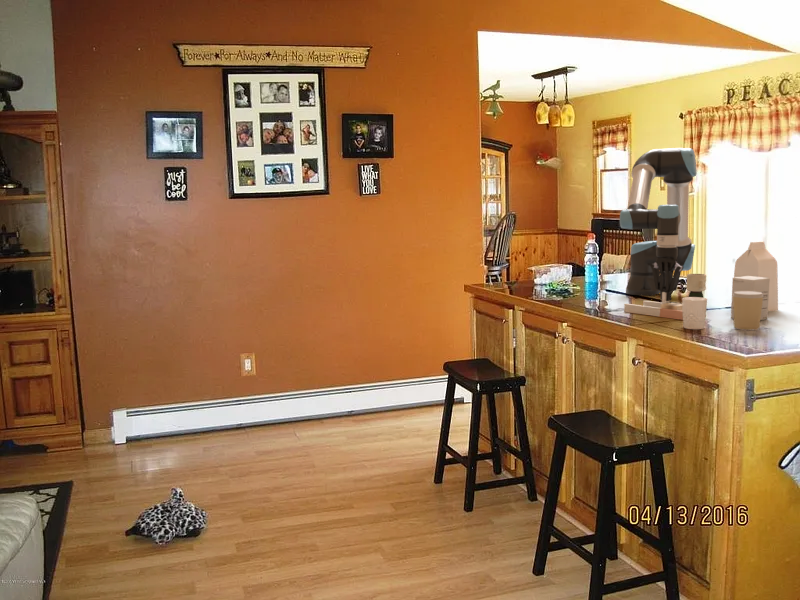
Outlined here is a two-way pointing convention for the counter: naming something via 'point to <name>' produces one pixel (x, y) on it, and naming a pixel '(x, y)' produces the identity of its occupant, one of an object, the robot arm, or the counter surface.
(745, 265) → the milk
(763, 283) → the supplement box
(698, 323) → the white cup
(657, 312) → the channel
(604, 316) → the counter surface
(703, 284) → the character mug
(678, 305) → the maple block
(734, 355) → the counter surface
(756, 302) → the coffee cup
